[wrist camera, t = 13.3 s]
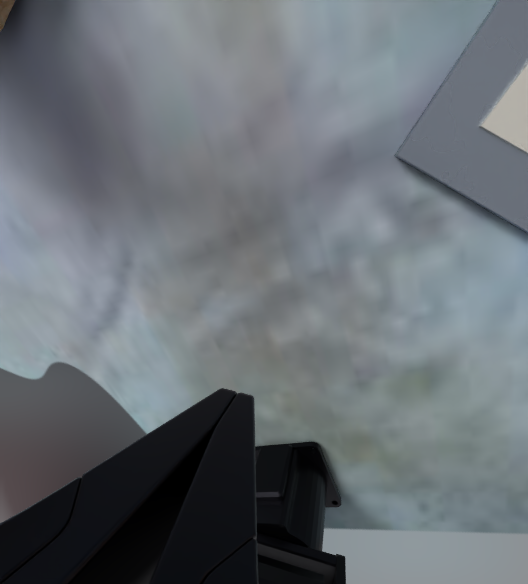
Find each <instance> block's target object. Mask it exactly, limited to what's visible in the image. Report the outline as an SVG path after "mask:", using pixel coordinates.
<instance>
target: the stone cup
mask: <svg viewBox="0 0 528 584" xmlns="http://www.w3.org/2000/svg"><path fill="white" fill-rule="evenodd" d="M14 2H15V0H0V32H1V30H2V29H3V27H4V25H5V22H6V20H7V17H8V15H9V13H10V11H11V9H12V7H13V5H14Z"/></svg>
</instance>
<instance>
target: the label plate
mask: <svg viewBox="0 0 528 584" xmlns="http://www.w3.org/2000/svg"><path fill="white" fill-rule="evenodd" d="M395 156H396V157H397V158H399V159H401V160H403V161H404V162H406V163H408V164H409V165H411V166H413V167H415V168H416V169H418V170H420V171H421V172H423V173H425V174H427V175H428V176H430V177H432V178H433V179H435V180H437V181H439V182H440V183H442V184H444V185H445V186H447V187H449V188H451V189H452V190H454V191H456V192H457V193H459V194H461V195H463V196H464V197H466V198H468V199H470V200H471V201H473V202H475V203H476V204H478V205H480V206H482V207H483V208H485V209H487V210H488V211H490V212H492V213H494V214H495V215H497V216H499V217H500V218H502V219H504V220H506V221H507V222H509V223H511V224H512V225H514V226H516V227H518V228H519V229H521V230H523V231H524V232H526V233H528V0H497V2H496V3H495V5H494V6H493V8H492V9H491V11H490V12H489V14H488V15H487V17H486V18H485V20H484V21H483V23H482V24H481V26H480V27H479V29H478V30H477V32H476V33H475V35H474V36H473V38H472V39H471V41H470V42H469V44H468V45H467V47H466V48H465V50H464V51H463V53H462V55H461V56H460V58H459V59H458V61H457V62H456V64H455V65H454V67H453V68H452V70H451V71H450V73H449V74H448V76H447V77H446V79H445V80H444V82H443V83H442V85H441V86H440V88H439V89H438V91H437V92H436V94H435V95H434V97H433V98H432V100H431V101H430V103H429V104H428V106H427V107H426V109H425V110H424V112H423V113H422V115H421V116H420V118H419V120H418V121H417V123H416V124H415V126H414V127H413V129H412V130H411V132H410V133H409V135H408V136H407V138H406V139H405V141H404V142H403V144H402V145H401V147H400V148H399V150H398V151H397V153H396V154H395Z"/></svg>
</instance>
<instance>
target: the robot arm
mask: <svg viewBox="0 0 528 584" xmlns="http://www.w3.org/2000/svg"><path fill="white" fill-rule="evenodd" d="M312 448H313V449H312ZM339 506H341V497H340V494H339V492H338V489H337V487H336V485H335V482H334V480H333V477H332V475H331V472H330V470H329V468H328V465H327V463H326V460H325V458H324V455H323V453H322V451H321V448H320V446H319V444H317V443H315V442H303V443H291V444H280V445H269V446H257V447H255V414H254V397H253V396H252V395H248V394H244V393H238V394H237V393H236V392H235V391H232V390H228V389H224V388H222V389H219V390H217V391H216V392H214V393H213V394H211V395H209V396H208V397H206V398H205V399H203V400H201V401H200V402H198V403H197V404H195V405H193V406H192V407H190V408H189V409H187V410H185V411H184V412H182V413H181V414H179V415H177V416H176V417H174V418H173V419H171V420H169V421H168V422H166V423H165V424H163V425H161V426H160V427H158V428H157V429H155V430H153V431H152V432H150V433H149V434H147V435H145V436H144V437H142V438H141V439H139V440H138V441H136V442H134V443H133V444H131V445H129V446H128V447H126V448H125V449H123V450H121V451H120V452H118V453H116V454H115V455H113V456H112V457H110V458H109V459H107V460H105V461H104V462H102V463H100V464H99V465H97V466H96V467H94V468H92V469H91V470H89V471H88V472H86V473H84V474H83V476H82V478H81V477H78V478H76V479H75V480H73V481H72V482H70V483H68V484H67V485H65V486H63V487H62V488H60V489H59V490H57V491H55V492H54V493H52V494H50V495H49V496H47V497H45V498H44V499H42V500H40V501H39V502H37V503H35V504H34V505H32V506H31V507H29V508H27V509H25V510H24V511H22V512H20V513H18V514H16V515H15V516H13V517H11V518H9V519H8V520H6V521H4V522H2V523H0V584H346V575H345V556H342V555H338V554H336V555H332V554H329V553H326V552H322V544H323V532H324V519H325V507H339Z"/></svg>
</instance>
